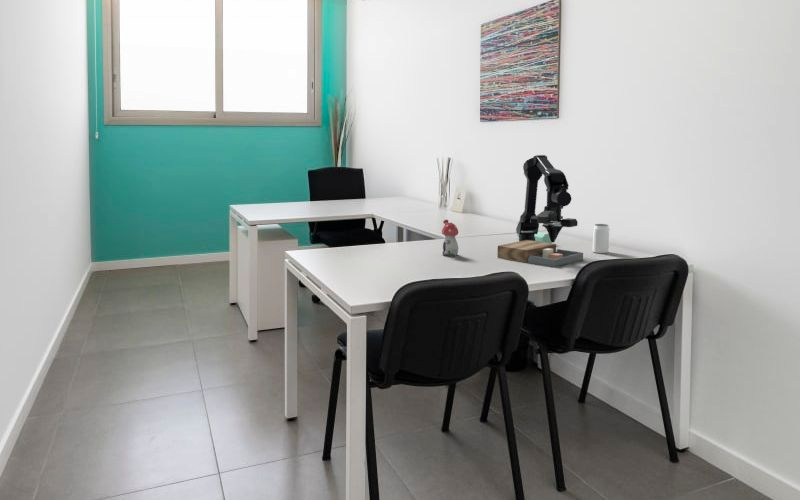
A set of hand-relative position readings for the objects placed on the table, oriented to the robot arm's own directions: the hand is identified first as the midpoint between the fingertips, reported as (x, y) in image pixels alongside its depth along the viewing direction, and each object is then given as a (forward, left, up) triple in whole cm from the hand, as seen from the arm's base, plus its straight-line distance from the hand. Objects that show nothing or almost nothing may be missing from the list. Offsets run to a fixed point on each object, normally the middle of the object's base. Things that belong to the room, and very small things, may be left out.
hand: (552, 242), depth 245 cm
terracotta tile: (+1, 0, -5) cm, 5 cm away
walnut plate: (-13, 0, -8) cm, 15 cm away
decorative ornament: (-38, -20, -8) cm, 44 cm away
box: (+1, 0, -8) cm, 8 cm away
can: (+4, +30, -8) cm, 31 cm away
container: (-34, +34, -8) cm, 49 cm away
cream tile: (-4, +1, -5) cm, 6 cm away
